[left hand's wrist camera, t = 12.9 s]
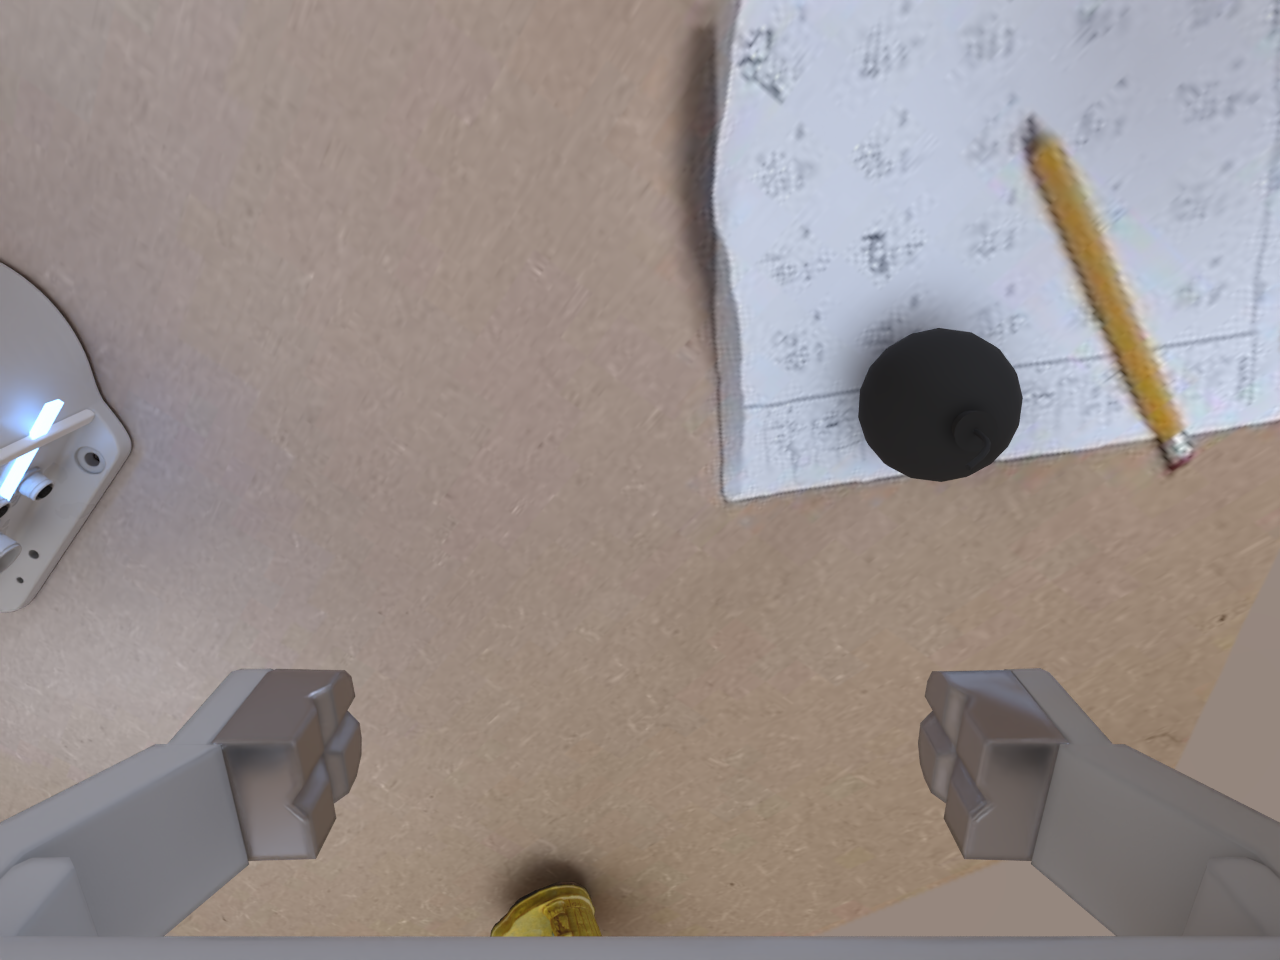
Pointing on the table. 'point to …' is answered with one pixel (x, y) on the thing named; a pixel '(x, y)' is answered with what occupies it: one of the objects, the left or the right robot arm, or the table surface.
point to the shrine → (550, 914)
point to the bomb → (940, 404)
